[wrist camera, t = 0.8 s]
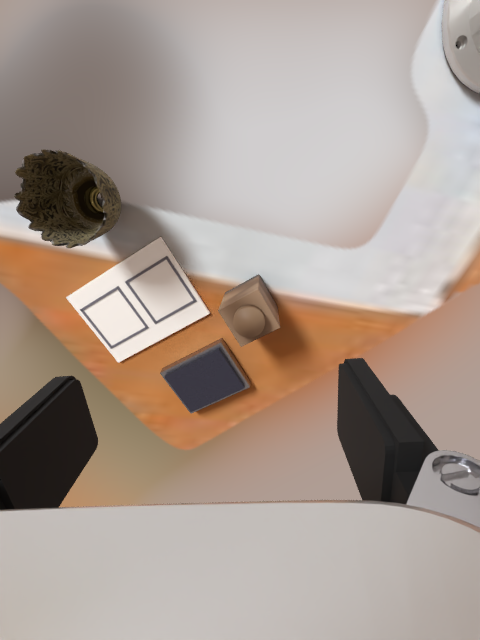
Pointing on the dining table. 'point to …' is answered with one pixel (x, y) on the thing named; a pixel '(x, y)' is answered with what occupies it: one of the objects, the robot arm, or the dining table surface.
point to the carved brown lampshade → (66, 198)
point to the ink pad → (206, 376)
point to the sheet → (139, 301)
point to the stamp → (249, 311)
